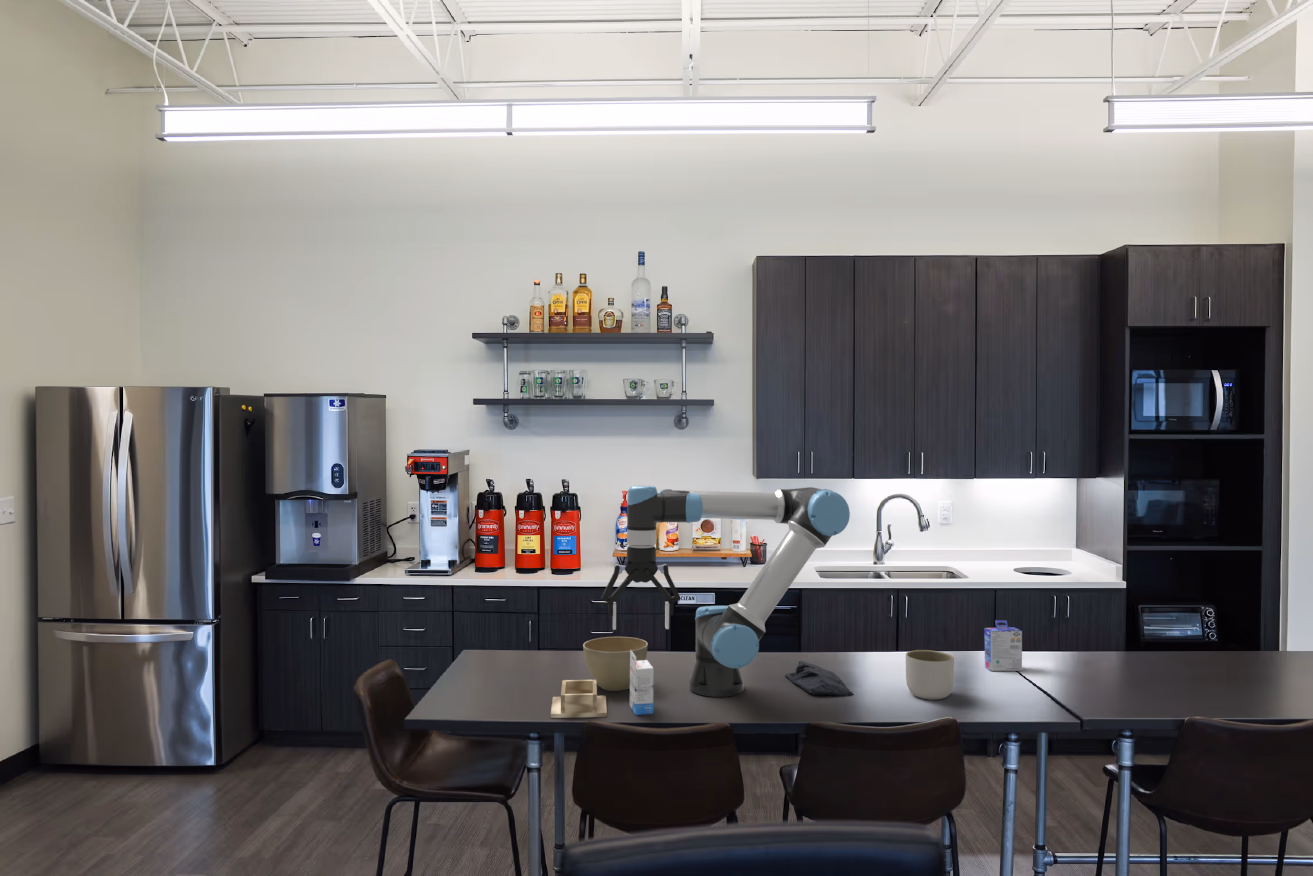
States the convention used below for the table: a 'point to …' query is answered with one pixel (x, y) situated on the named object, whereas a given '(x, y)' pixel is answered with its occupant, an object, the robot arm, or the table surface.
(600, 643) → the flower pot
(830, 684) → the dark slate chunk
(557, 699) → the frame
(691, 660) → the table surface
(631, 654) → the ink box
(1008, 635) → the ink cartridge box
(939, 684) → the planter
